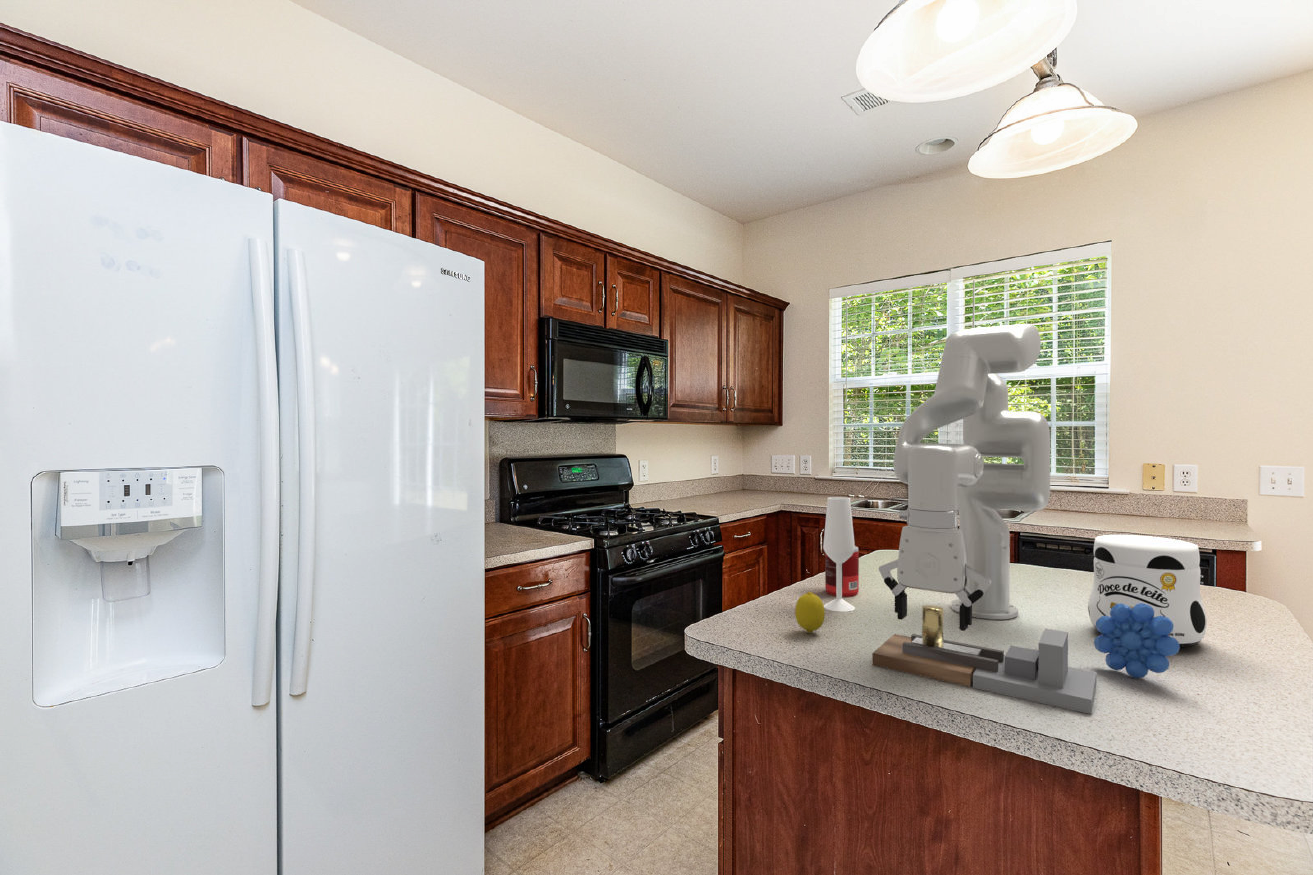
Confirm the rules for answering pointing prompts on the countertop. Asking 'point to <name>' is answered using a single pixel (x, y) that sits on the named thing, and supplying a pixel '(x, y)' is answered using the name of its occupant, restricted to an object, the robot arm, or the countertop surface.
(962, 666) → the wooden block with rails
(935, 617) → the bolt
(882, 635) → the countertop surface
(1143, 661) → the blue flower
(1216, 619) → the countertop surface
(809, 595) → the lemon
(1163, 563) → the doce de leite tub
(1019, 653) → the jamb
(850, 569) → the canned food
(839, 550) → the champagne flute
